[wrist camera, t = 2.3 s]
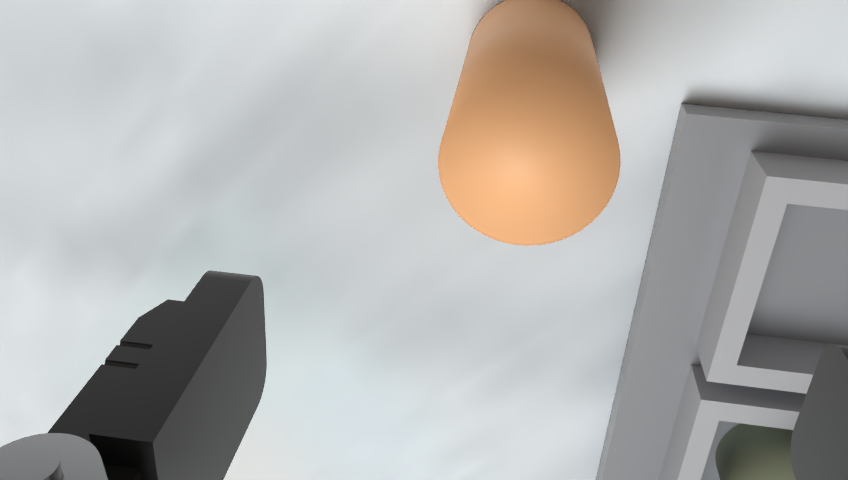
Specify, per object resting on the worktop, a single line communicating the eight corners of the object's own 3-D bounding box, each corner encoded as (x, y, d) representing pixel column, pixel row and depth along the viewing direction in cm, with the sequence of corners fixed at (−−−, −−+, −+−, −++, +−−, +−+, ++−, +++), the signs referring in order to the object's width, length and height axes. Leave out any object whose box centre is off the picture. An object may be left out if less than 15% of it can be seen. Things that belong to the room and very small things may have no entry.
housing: (681, 103, 25) (698, 136, 23) (1074, 141, 24) (1138, 180, 22) (590, 503, 34) (595, 560, 31) (878, 543, 33) (908, 606, 30)
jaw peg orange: (474, -12, 25) (445, 68, 17) (603, -1, 24) (636, 87, 16) (463, 110, 26) (432, 234, 19) (582, 123, 26) (603, 254, 18)
